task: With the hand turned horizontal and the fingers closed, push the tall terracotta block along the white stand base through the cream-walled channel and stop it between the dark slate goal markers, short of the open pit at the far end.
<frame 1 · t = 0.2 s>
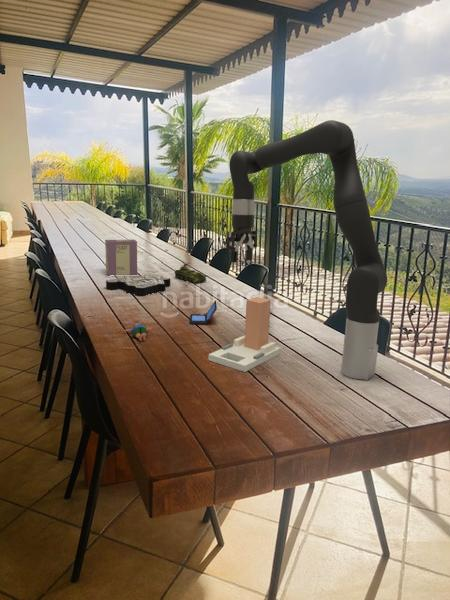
hand: (241, 261, 159), 29 cm above the table, tool pointing down, fingers open, 8 cm apart
box: (121, 274, 272), on the table
white stand base: (245, 356, 150), on the table
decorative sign: (142, 288, 240), on the table
block: (256, 346, 154), point 2 cm above the table, touching white stand base
toy character: (139, 336, 167), on the table
toy vehicle: (190, 280, 264), on the table
object: (203, 321, 188), on the table
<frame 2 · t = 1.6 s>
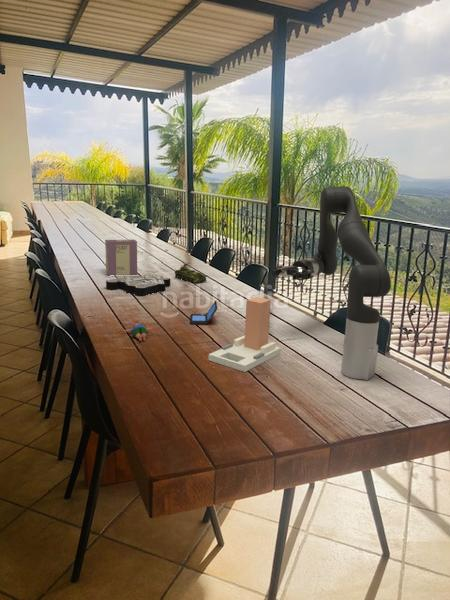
hand: (283, 275, 161), 24 cm above the table, tool horizontal, fingers open, 7 cm apart
nothing on the table moved.
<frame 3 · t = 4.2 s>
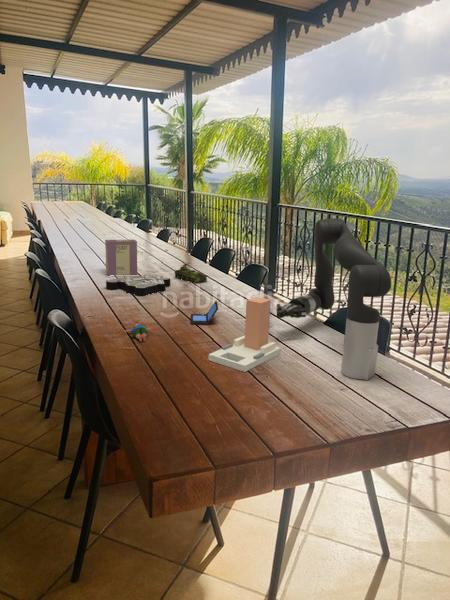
hand: (278, 315, 163), 10 cm above the table, tool horizontal, fingers closed
nothing on the table moved.
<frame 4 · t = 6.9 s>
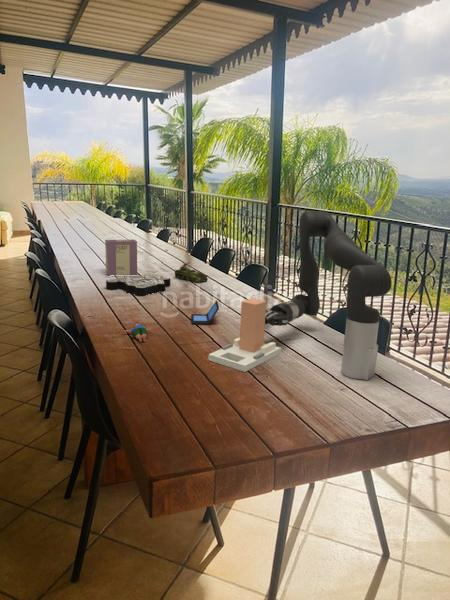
hand: (257, 323, 153), 10 cm above the table, tool horizontal, fingers closed
block: (251, 348, 152), point 2 cm above the table, touching white stand base, gripper
everything else where it was.
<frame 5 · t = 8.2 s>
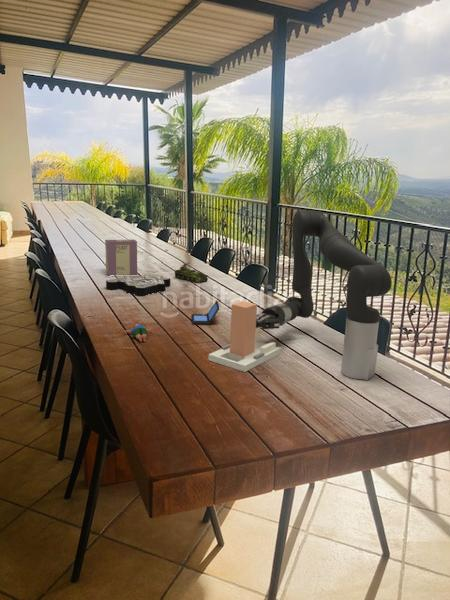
hand: (248, 326, 148), 10 cm above the table, tool horizontal, fingers closed
block: (242, 352, 148), point 2 cm above the table, touching white stand base, gripper
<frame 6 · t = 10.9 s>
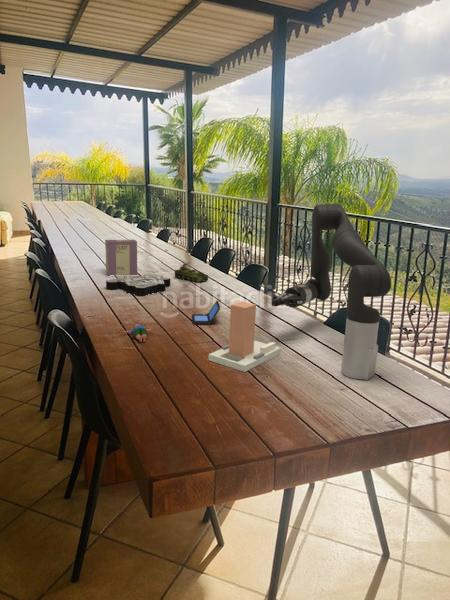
hand: (273, 303, 158), 15 cm above the table, tool horizontal, fingers closed
block: (241, 352, 148), point 2 cm above the table, touching white stand base
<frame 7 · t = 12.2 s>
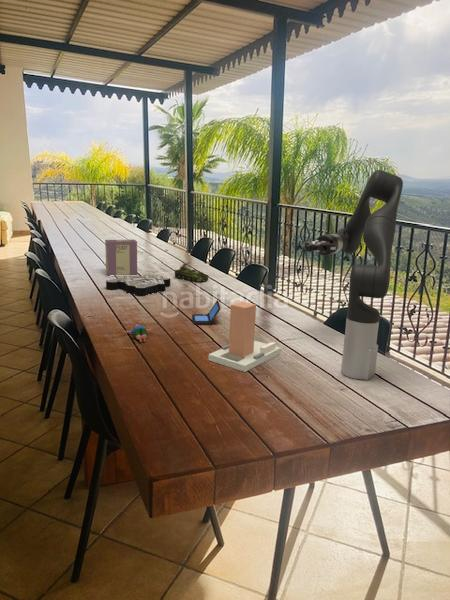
hand: (307, 248, 157), 34 cm above the table, tool horizontal, fingers closed
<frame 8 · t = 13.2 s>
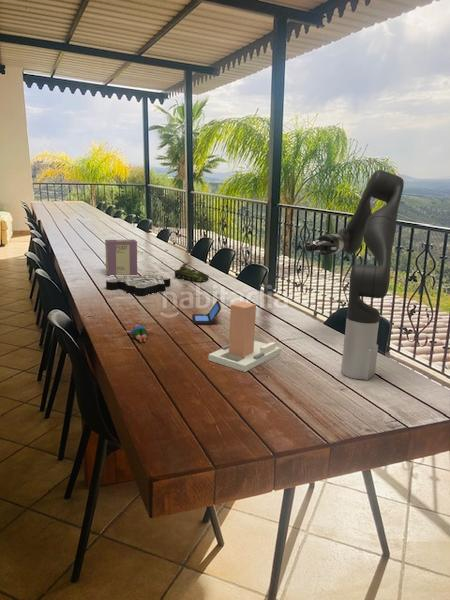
hand: (308, 248, 157), 34 cm above the table, tool horizontal, fingers closed
at the end: block 0.3 cm from the target spot, point 2.0 cm above the table; block tilted 0° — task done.
